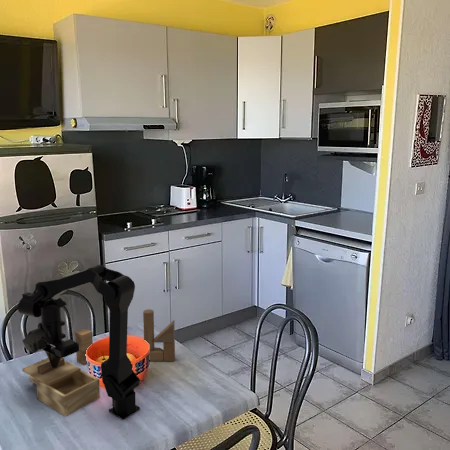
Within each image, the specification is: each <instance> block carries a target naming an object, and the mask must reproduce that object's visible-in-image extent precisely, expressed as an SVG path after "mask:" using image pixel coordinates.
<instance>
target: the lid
mask: <svg viewBox="0 0 450 450" xmlns="http://www.w3.org/2000/svg"><path fill="white" fill-rule="evenodd" d="M21 370H22V372H24V373H26V374H27V375H29V377H30V376H32V377H34V378H36V379H37V380H39V381H41V382H42V383H44V384H46V385H48V386H50V385H52V384H54V383H56V382H59V381H61V380H63V379H65V378H67V377H69V376H71V375H73V374H75V373H78V372H80V371H81V370H82V368H80V367H78V366H76V365H74V364H73V363H70V362H69V361H66V360H65V357H63V358H61V359H60V361H59V363H58V365H57V367H56V368H53V367H52V365H51V363H50V361H49V358H48V357H47V358H44V359H42V360H39V361H38V362H35V363H32V364H30V365H28V366H25V367H22V369H21Z"/></svg>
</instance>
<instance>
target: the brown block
mask: <svg viewBox="0 0 450 450" xmlns="http://www.w3.org/2000/svg"><path fill="white" fill-rule="evenodd" d="M74 336H75V342H77V343H78V344H79V348H80V350H79V351H78V352H76V353H75V354H76V356H75V357H76V362H77V363H78V364H80V365H82V366H86V365H88V364H87V361H86V356H85V354H86V350H87V348H88V347H89V346H90V345H91V344H93V345H94V343H93V340H94V339H93V331H92V330H89V329H88V328H83V329H80V330H77V331H75V332H74Z"/></svg>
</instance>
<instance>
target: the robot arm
mask: <svg viewBox="0 0 450 450" xmlns="http://www.w3.org/2000/svg"><path fill="white" fill-rule="evenodd" d="M105 281H106V282H105ZM89 283H90V284H92V285H93V287H94V289H95V290H96V292H97V293H98V294H100V295H102V296H103V297H104V298H103V299H104V303H105V305H106V307H107V308H108V310H109V326H108V327H109V328H108V329H109V330H108V332H109V334H108V335H109V337H108V339H109V340H108V341H109V342H108V357H107V359H105V360H104V361H103V362H102V363H101V364H100V375H99V376H100V378H101V381H102V384H103V385H104V388H105V390H106V394H107V397H109V398H111V399H112V400H111V403H112V407H111V408H109V409H108V412H109V413H110V414H112V415H113V416H116V417H118V418H120V419H121V420H125V419H127V418H128V417H130V416H132V415H133V414H135V413H136V412H138V411H140V410H141V407H140V406H138V405H137V403H136V402H137V401H136V391H135V389H136V388H137V387H139V385H140V383H141V379H140V378H139V376H138V375H137V374H136V373H135V371H134V370H133V368H132V367H133V366H132V361H131V359H130V358H129V357H128V354H127V352H128V317H129V315H128V314H129V313H128V312H129V307H130V306H131V303H132V301H133V298H134V294H135V289H136V284H135V282H134V281H133V279H132V278H131V277H129V276H128V275H126V274H123V273H122V272H119V271H117V270H113V269H109V268H107V267H106V266H104V265H102V264H96V265H93V266H91V267H88V268H86V269H83V270H82V271H79V272H78V271H77V272H75V273H72V274H70V275H69V274H68V275H65V276H63V275H57V276H56V275H54V276H51V277H49V278H46V279H43V280H41V281H38V282H37V283H35V288H34V290H33V292H32V293H31V292H29V291H28V292H25V293H22V294H21V296H22V298H21V299H20V300H19V302H18V305H17V311H18V313H19V314H21V315H24V316H29V317H34V318H40V322H39V323H38V324H37V328H36V329H32V330H30V331H29V332H28V333H27V334H26V335H27V336H26V337H25V338H23V339H22V343H23V345H24V347H25V349H26V350H27V351H29V352H31V353H32V354H34V353H37V352H39V351H42V350H43V352H44V353H45V354H46V356H47V358H49V361H50V363H51V365H52V367H53V368H56V367H57V365H58V363H59V361H60V359H61V358H66V357H68V356H71V355H73V354H76V352H78V351H79V350H80V348H79V344H78V343H77V342H76V340H73V339H70V338H69V339H67V340H66V339H65V338H66V333H64V332H63V326H65V325H66V322H65V321H64V320H62V308H64V307H65V306H67V301H64V300H63V299H62V298H61V297H59V298H57V299H55V297H57V296H60V295H62V294H64V293H65V292H67V291H68V290H69V289H74V288H77V287H80V286H82V285H85V284H89Z"/></svg>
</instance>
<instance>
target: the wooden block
mask: <svg viewBox="0 0 450 450" xmlns="http://www.w3.org/2000/svg"><path fill="white" fill-rule="evenodd" d="M154 314H155V312H154V310H153V309H151V308H150V309H145V310H143V313H142V316H143V341H144V340H146V341H147V342H148V343H149V344H150V361H149V362H168V363H169V362H172V363H173V362H174V361H175V357H176V348H175V347H176V345H175V344H176V340H175V339H176V338H175V333H176V332H175V319H173V320H172V321H171V322H170V323H169V324H168V325H167V326H166V327H164V329H163V330H162V331H160V332H159V333H158V334H157V335H156V336H155V317H154V316H155V315H154ZM155 343H163V344H162V345H163V347H162V348H161V347H155Z"/></svg>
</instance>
